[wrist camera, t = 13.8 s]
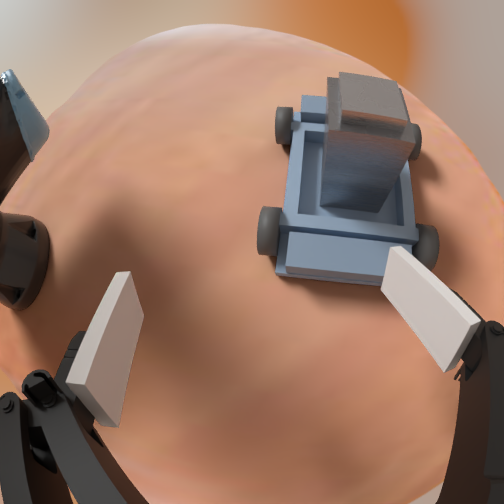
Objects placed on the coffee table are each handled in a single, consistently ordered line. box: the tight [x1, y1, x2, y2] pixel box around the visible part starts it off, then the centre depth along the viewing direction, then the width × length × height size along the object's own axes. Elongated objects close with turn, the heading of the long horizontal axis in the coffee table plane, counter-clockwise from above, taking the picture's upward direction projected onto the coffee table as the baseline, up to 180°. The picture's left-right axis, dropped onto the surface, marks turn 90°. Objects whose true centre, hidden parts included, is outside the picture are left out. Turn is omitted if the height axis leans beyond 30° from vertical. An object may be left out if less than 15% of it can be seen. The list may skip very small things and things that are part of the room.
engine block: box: [319, 72, 416, 213], centre depth 21 cm, size 6×6×12 cm
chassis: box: [257, 95, 439, 286], centre depth 25 cm, size 16×20×4 cm
